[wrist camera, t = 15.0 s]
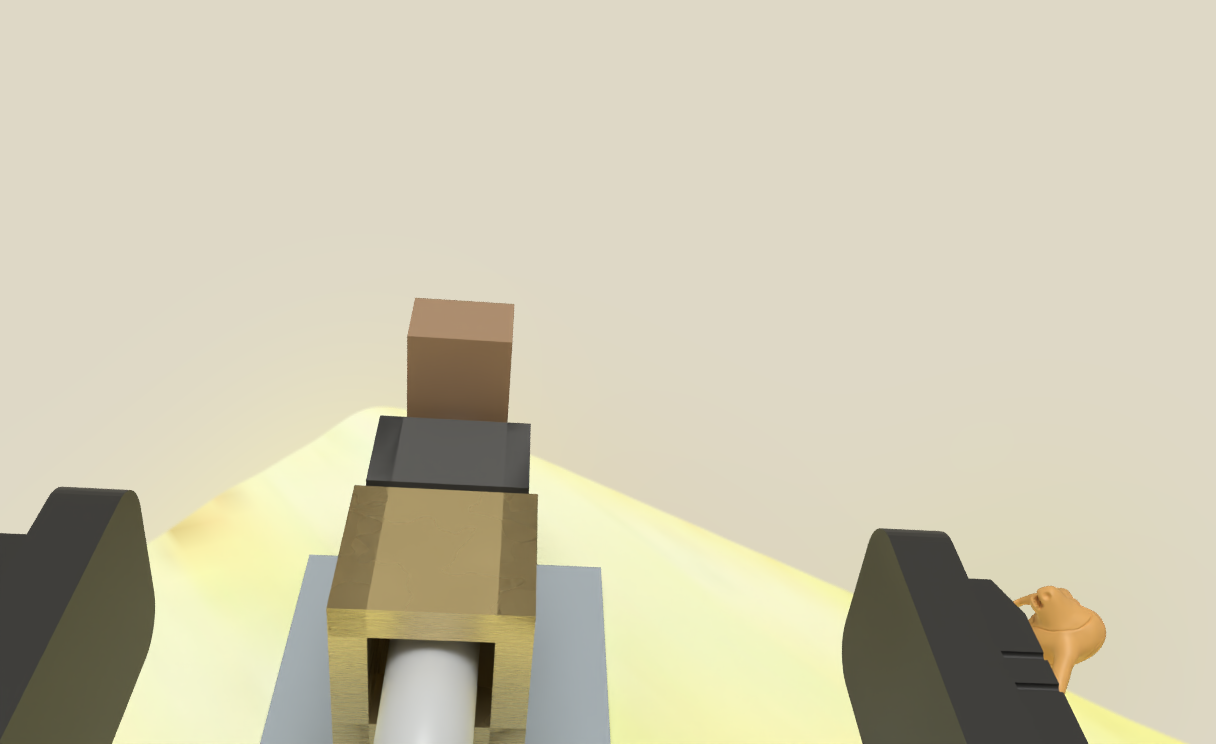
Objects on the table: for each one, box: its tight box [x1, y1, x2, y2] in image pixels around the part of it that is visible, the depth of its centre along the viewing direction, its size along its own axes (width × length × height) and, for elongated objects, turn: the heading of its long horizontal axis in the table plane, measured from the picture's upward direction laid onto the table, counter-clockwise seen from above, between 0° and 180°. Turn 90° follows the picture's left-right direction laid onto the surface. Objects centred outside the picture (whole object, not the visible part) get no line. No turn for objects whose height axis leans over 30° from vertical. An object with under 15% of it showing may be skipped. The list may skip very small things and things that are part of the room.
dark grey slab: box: [366, 416, 531, 494], centre depth 44 cm, size 6×4×6 cm
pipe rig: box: [260, 298, 610, 744], centre depth 40 cm, size 14×26×16 cm, turn 2°
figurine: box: [1013, 586, 1106, 695], centre depth 44 cm, size 8×6×12 cm
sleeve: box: [326, 485, 538, 744], centre depth 39 cm, size 6×6×6 cm
